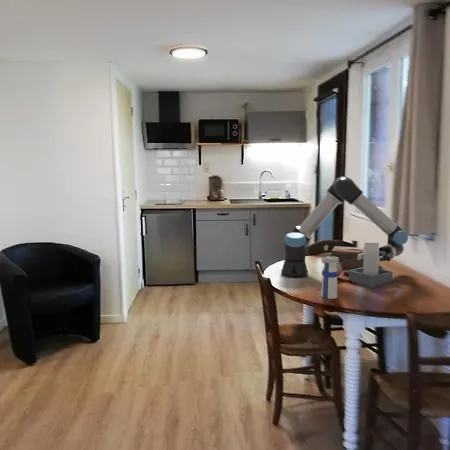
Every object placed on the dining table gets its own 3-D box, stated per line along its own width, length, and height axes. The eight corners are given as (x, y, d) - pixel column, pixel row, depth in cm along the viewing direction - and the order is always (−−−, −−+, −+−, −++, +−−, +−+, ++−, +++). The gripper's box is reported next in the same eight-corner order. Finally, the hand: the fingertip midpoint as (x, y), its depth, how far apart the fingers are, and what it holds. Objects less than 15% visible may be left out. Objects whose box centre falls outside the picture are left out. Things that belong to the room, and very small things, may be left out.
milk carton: (378, 279, 242) (379, 244, 239) (364, 279, 243) (365, 243, 240) (376, 276, 249) (377, 241, 246) (362, 275, 250) (364, 241, 247)
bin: (373, 287, 235) (373, 276, 234) (348, 281, 248) (348, 270, 247) (392, 282, 244) (392, 271, 244) (367, 276, 257) (367, 266, 256)
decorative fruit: (335, 275, 260) (336, 258, 258) (344, 279, 252) (345, 261, 251) (321, 277, 256) (322, 259, 255) (330, 281, 249) (330, 263, 247)
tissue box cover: (376, 264, 286) (377, 248, 285) (375, 270, 273) (375, 253, 271) (334, 261, 296) (335, 246, 294) (331, 266, 282) (331, 250, 281)
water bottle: (316, 296, 222) (317, 245, 218) (326, 292, 228) (327, 243, 224) (331, 300, 216) (332, 248, 212) (340, 296, 222) (342, 245, 218)
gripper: (405, 261, 250) (387, 269, 234) (367, 255, 265) (347, 262, 250) (406, 248, 249) (387, 255, 233) (368, 243, 264) (348, 248, 248)
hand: (367, 258), depth 241 cm, fingers closed on milk carton, 10 cm apart
